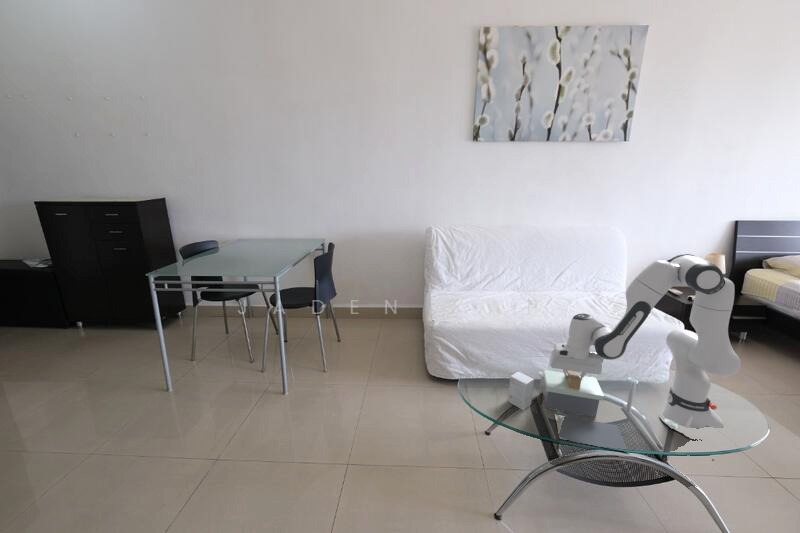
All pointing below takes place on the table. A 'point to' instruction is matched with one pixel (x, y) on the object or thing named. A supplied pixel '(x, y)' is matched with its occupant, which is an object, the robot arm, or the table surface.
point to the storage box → (570, 403)
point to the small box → (520, 390)
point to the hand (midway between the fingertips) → (572, 378)
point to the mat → (591, 433)
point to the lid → (573, 385)
